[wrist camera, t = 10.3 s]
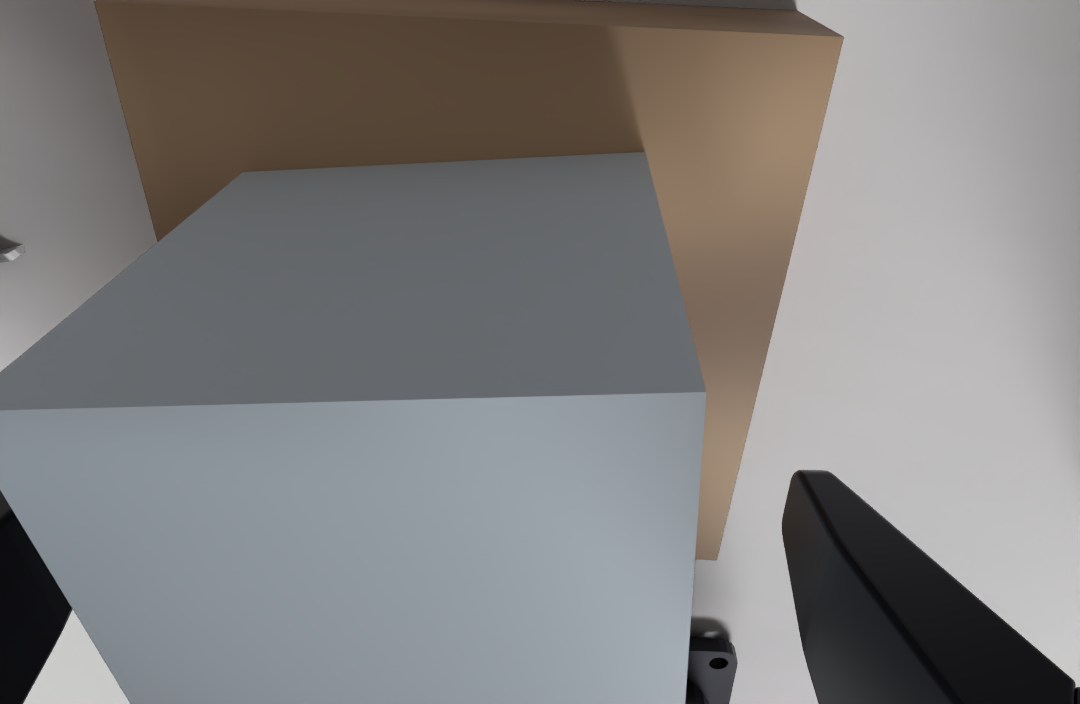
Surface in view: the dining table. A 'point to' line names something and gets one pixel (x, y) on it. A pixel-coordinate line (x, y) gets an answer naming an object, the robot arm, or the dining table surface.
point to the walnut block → (511, 129)
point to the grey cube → (378, 442)
